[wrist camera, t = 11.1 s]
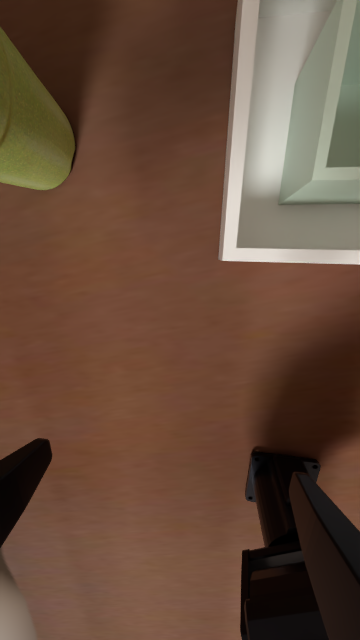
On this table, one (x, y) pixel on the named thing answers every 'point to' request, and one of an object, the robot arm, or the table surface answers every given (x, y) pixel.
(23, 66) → the plant pot
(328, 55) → the small crate
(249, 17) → the big crate
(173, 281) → the table surface
